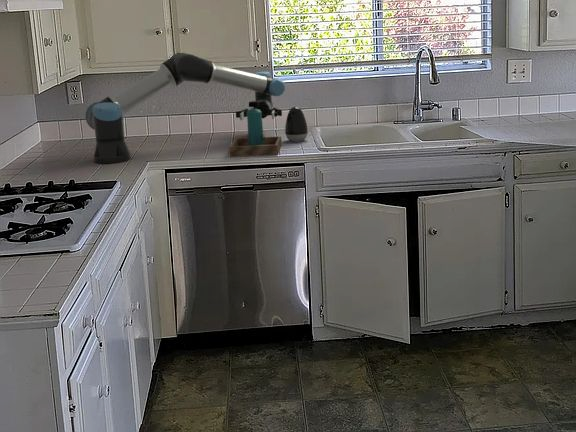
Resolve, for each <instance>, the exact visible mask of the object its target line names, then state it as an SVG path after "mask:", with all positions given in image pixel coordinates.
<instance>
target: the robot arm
mask: <svg viewBox="0 0 576 432" xmlns="http://www.w3.org/2000/svg"><path fill="white" fill-rule="evenodd" d="M176 53H177V54H175V53H173V54H174V55H173V56H172V57H171V58H170V59H168V58H167V59H168V60H167V59H166V60H165V61H163V62H162V63H160V65H159V69H156V71H154V72H153V73H152V72H151V74H149V75H147V76H146V77H144V78H143V79H141V80H140V81H137V82H135V84H133V85H131V86H130V87H128V88H126V89H124V90H123V91H121V92H120V93H118V94H117V95H115V96H107V97H105V98H103V99H102V100H100V101H96V102H93V103H91V104H89V105H88V106H87V108H86V109H85V113H84V119H85V121H86V123H87V125H88V126H89V127H90V128H91V129H92V130H94V134H95V135H94V136H95V142H96V143H95V148H94V152H93V162H94V163H95V164H96V163H97V164H115V163H116V164H117V163H122V162H126V161H129V160H131V158H132V157H131V153H130V150H129V147H128V146H127V143H126V141H125V133H124V121H123V120H124V117H125V114H127V113H129V112H131V111H132V110H134V109H135V108H137V107H139V106H140V105H142V104H144V103H145V102H147V101H148V100H149V99H151V98H154V97H155V96H156V95H158V94H159V93H161V92H163V91H164V90H166V89H168V88H169V87H173V88H175V87H176V88H177V86H179V85H181V84H182V83H183V82H194V83H195V82H197V83H204V84H209V83H216V84H220V85H224V86H228V87H232V88H233V87H234V88H238V89H243V90H246V91H250V92H254V99H255V100H254V101H258V105H259V106H258V107H251V109H259V110H260V111H261V112H262V113H261V114H262V120H263V119H265V118H267V117H269V116H271V119H272V120H275V118H276V117H278V116H279V117H282V116H283V111H282V109H279V108H276V107H273V101H272V100H273V99H272V97H280V96H282V95H283V94H284V93H285V91H286V85H285V82H284V81H283V80H282V79H280V78H275V77H272V76H271V73H270V71H258V72H257V71H256V72H255V73H253V72H248V71H244V70H239V69H236V68H231V67H228V66H223V65H219V64H215V63H214V62H213V61H211V60H207V59H204V58H201V57H199V56H196V55H194V54H190V53H186V52H182V53H179V52H176ZM248 110H250V109H249V108H245V109H241V110H238V111H235V117H236V118H237V119H238V118H239V120H240V121H243V120H245V118H247V112H248Z"/></svg>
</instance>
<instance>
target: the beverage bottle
mask: <svg viewBox="0 0 576 432" xmlns="http://www.w3.org/2000/svg"><path fill="white" fill-rule="evenodd" d="M258 106H259V105H258V101H255V100H253V101H248V107H249V108H250V109H249V110H248V112H247V117H246V118H247V119H246V120H247V133H248V134H247V136H248V137H247V138H248V139H249V140H248V141H249V146H255V145H263V144H264V141H263V140H264V138H263V137H264V129H263V128H264V126H263V119H262V114H261V113H262V112H261V111H260V110H259V109H252V108H253V107H258Z"/></svg>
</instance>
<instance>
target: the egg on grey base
mask: <svg viewBox="0 0 576 432" xmlns="http://www.w3.org/2000/svg"><path fill="white" fill-rule="evenodd" d="M308 133H309V128H308V123H307V120H306V117H305V114H304V112H303V110H302V109H301V108H300V107H299V106H292V107H291V108H290V109H289V111H288V113H287V116H286V120H285V126H284V134H285V135H286V138H287V140H288V141H290V142H293V143H298V142H299V143H300V142H303V141H304V140H306V139H307V137H308Z"/></svg>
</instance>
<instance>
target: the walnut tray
mask: <svg viewBox="0 0 576 432" xmlns="http://www.w3.org/2000/svg"><path fill="white" fill-rule="evenodd" d="M263 138H264V140H263V141H264V144H263V145H255V146H249V141H248V140H249V139H248V137H236V138H234V140H233V141H232V143H230V146H228V148H229V157H230V158H231V157H253V156H256V157H258V156H276V155H277V156H278V155H279V153H280V150H281V149H282V145H283V142H282V136H263Z"/></svg>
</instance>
